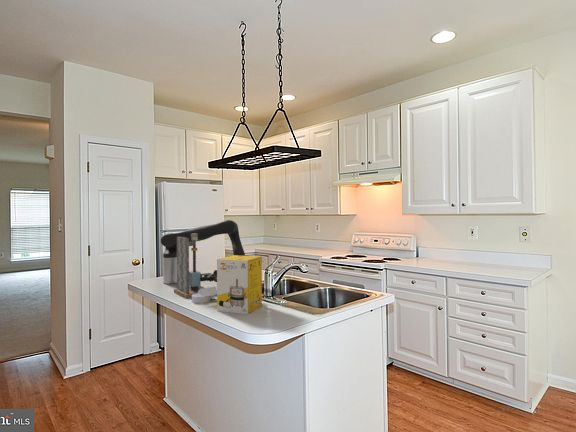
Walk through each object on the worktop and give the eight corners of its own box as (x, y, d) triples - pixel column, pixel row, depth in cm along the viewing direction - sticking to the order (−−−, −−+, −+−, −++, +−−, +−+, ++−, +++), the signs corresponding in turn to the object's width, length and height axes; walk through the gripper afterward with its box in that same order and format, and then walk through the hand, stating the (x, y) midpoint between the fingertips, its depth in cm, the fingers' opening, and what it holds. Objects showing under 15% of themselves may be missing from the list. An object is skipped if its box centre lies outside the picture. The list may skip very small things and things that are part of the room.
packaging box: (217, 311, 171) (216, 259, 171) (233, 302, 187) (233, 255, 186) (247, 314, 166) (247, 260, 166) (261, 305, 181) (261, 256, 181)
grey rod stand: (174, 292, 210) (173, 233, 210) (199, 288, 220) (199, 232, 219) (185, 298, 196) (185, 235, 195) (212, 294, 206) (212, 233, 205)
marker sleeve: (188, 285, 209) (188, 271, 209) (196, 284, 212) (196, 270, 212) (192, 286, 205) (191, 273, 205) (200, 285, 208) (200, 272, 208)
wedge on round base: (210, 297, 199) (188, 301, 191) (210, 285, 199) (188, 288, 191) (218, 300, 192) (196, 304, 184) (218, 287, 192) (196, 291, 184)
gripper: (217, 267, 225) (192, 270, 215) (227, 270, 214) (202, 273, 204) (217, 279, 225) (192, 282, 215) (227, 283, 214) (202, 286, 204)
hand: (197, 278), depth 210 cm, fingers open, 8 cm apart
